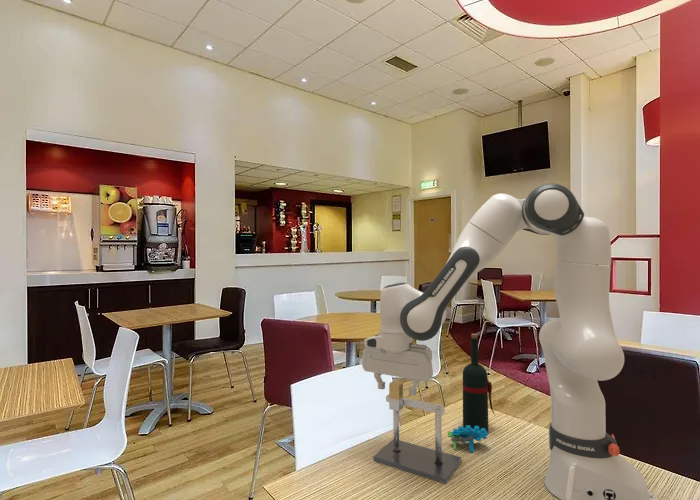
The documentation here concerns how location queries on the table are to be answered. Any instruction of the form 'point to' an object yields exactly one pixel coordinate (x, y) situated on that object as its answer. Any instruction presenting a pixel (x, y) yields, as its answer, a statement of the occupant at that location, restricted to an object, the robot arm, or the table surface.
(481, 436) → the gear
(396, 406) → the leg
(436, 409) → the divider frame
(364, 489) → the table surface
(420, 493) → the table surface
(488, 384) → the wine bottle
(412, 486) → the table surface
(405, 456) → the bolt plate
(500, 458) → the table surface
